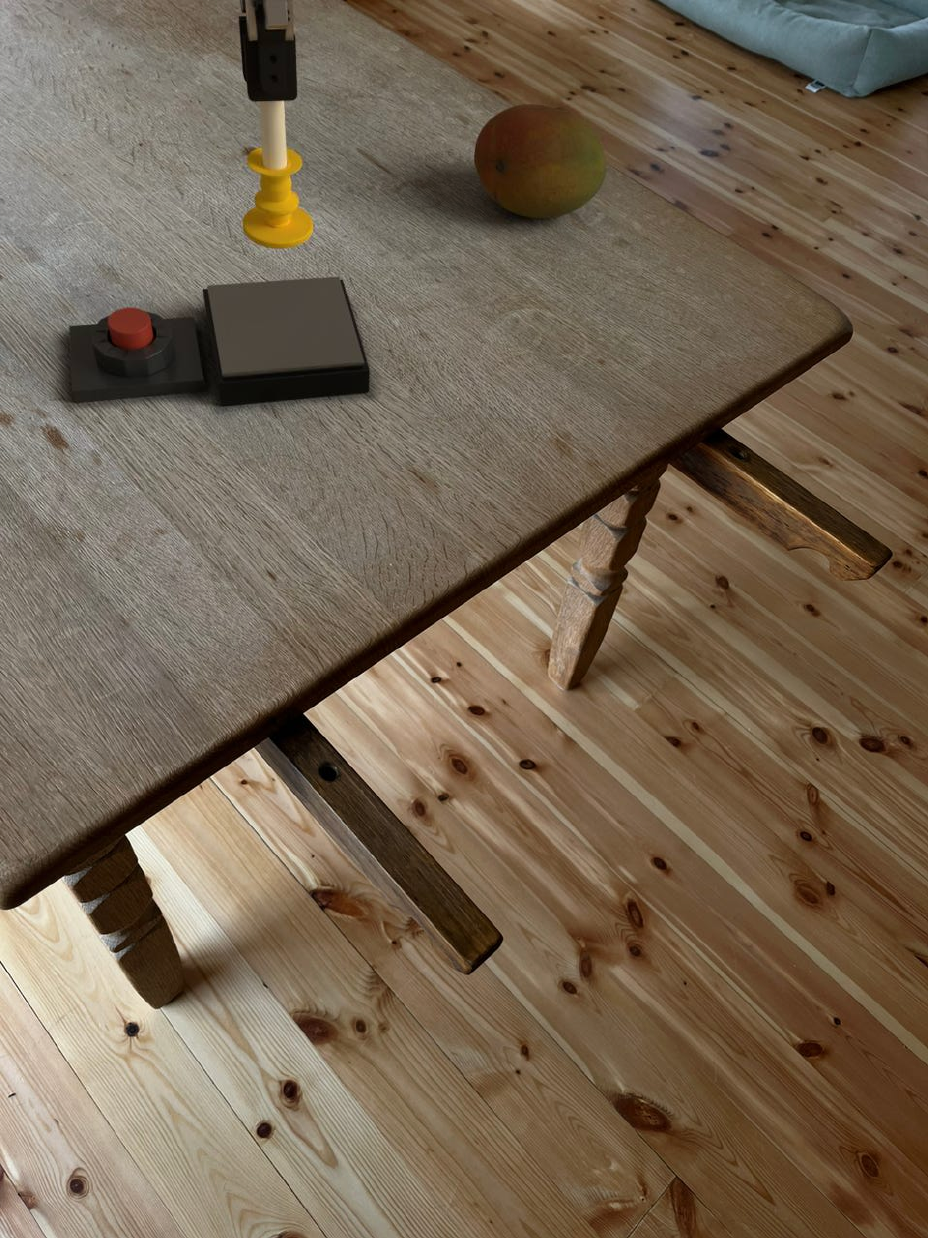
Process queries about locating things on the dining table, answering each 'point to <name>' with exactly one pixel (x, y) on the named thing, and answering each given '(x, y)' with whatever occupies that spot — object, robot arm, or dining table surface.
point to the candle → (275, 187)
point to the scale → (284, 341)
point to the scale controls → (135, 362)
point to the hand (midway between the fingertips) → (270, 87)
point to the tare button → (130, 328)
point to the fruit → (539, 161)
